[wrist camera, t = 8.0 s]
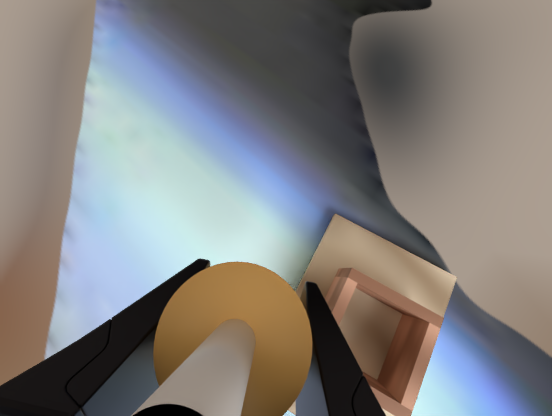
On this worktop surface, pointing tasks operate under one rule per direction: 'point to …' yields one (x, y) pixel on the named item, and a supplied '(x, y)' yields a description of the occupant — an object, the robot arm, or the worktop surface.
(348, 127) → the worktop surface
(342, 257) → the beige board with box
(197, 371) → the orange tapered piece
